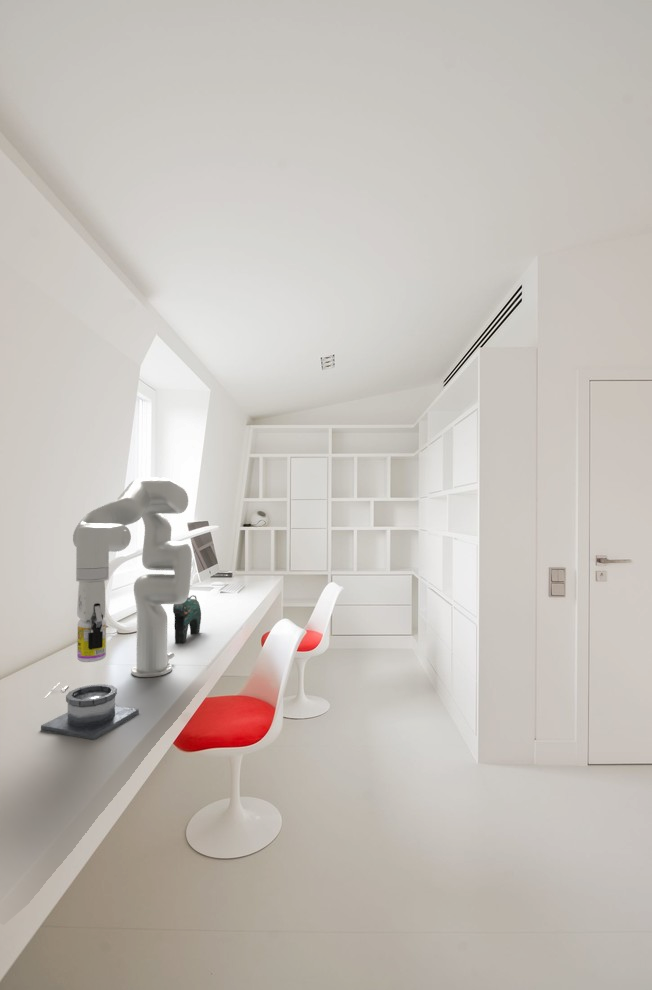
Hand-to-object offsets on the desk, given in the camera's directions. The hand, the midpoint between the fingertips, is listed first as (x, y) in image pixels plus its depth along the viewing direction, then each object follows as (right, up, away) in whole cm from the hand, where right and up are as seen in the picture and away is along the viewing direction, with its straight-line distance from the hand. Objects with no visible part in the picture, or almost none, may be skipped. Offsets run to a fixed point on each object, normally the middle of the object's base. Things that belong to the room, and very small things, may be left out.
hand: (92, 644), depth 134 cm
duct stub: (0, -19, 0) cm, 19 cm away
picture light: (-19, -20, +22) cm, 36 cm away
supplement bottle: (0, -4, 0) cm, 4 cm away
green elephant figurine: (+3, -20, +81) cm, 84 cm away
